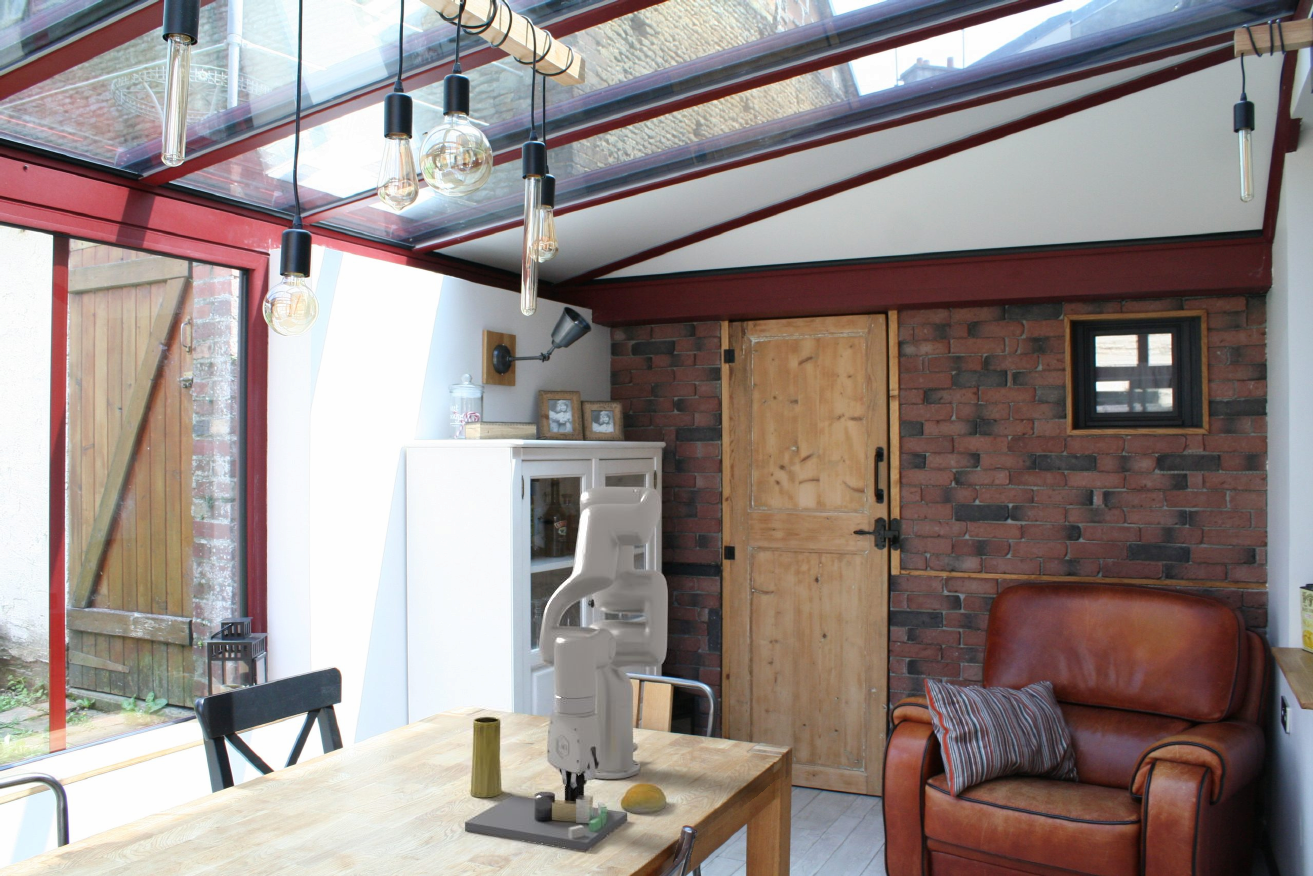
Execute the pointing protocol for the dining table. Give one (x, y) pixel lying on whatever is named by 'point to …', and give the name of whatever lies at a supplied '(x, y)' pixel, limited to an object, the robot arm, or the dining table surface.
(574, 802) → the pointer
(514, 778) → the dining table surface
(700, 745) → the dining table surface
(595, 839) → the grey flat slab
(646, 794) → the bread roll
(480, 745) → the vase
